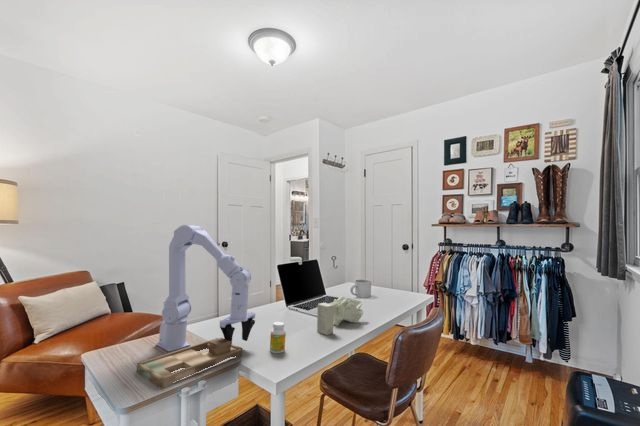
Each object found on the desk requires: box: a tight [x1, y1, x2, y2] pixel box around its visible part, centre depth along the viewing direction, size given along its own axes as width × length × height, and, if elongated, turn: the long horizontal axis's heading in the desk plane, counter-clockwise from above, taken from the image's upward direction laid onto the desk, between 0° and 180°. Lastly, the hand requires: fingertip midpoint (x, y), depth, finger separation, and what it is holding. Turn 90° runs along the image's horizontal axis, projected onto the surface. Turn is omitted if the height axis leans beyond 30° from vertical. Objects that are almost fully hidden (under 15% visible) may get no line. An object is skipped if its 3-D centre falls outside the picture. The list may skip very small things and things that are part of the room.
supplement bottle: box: [269, 321, 287, 354], centre depth 111 cm, size 5×5×10 cm
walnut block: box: [209, 337, 231, 356], centre depth 102 cm, size 5×5×4 cm
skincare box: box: [316, 302, 334, 336], centre depth 133 cm, size 6×4×12 cm
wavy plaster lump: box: [331, 295, 364, 327], centre depth 148 cm, size 18×13×16 cm
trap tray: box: [135, 337, 244, 389], centre depth 97 cm, size 14×28×3 cm, turn 145°
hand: (236, 342), depth 108 cm, fingers open, 7 cm apart
